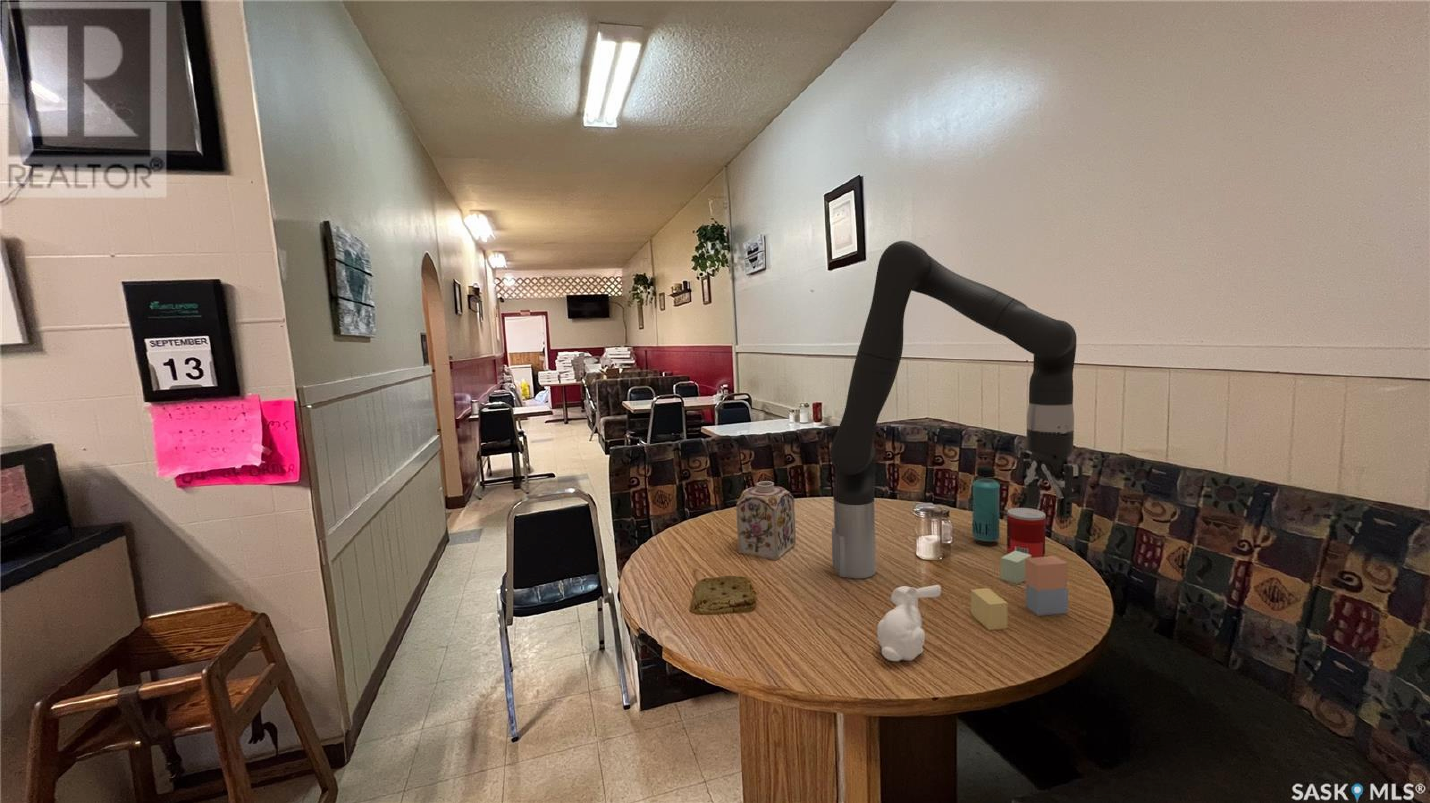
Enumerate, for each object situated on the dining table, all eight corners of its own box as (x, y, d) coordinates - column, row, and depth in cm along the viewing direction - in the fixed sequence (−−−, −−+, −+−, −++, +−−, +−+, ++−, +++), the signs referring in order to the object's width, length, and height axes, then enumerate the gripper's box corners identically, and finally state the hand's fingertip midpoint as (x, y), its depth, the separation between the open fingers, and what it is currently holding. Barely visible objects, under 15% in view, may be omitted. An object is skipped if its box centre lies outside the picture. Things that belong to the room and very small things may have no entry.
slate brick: (1037, 615, 103) (1038, 590, 102) (1026, 606, 106) (1026, 582, 106) (1067, 612, 103) (1068, 588, 103) (1054, 604, 107) (1055, 580, 106)
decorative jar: (797, 545, 144) (794, 479, 142) (778, 561, 134) (775, 491, 132) (757, 538, 150) (754, 475, 148) (736, 553, 141) (733, 486, 139)
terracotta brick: (1036, 590, 102) (1037, 565, 102) (1025, 582, 106) (1025, 558, 105) (1066, 588, 103) (1067, 562, 102) (1053, 580, 106) (1054, 555, 106)
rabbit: (892, 628, 101) (892, 567, 100) (945, 643, 95) (945, 579, 94) (867, 660, 92) (866, 593, 90) (924, 679, 86) (923, 608, 84)
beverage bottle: (997, 538, 141) (998, 464, 139) (1002, 548, 135) (1002, 470, 133) (970, 537, 143) (970, 463, 141) (973, 546, 137) (973, 469, 135)
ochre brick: (1007, 628, 99) (1007, 602, 99) (989, 630, 99) (989, 604, 98) (988, 612, 105) (988, 588, 105) (971, 614, 105) (971, 589, 104)
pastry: (723, 575, 129) (722, 563, 128) (779, 597, 116) (779, 584, 116) (667, 602, 117) (666, 589, 116) (723, 629, 104) (722, 615, 104)
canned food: (1052, 562, 126) (1052, 516, 124) (1017, 563, 126) (1017, 518, 125) (1033, 549, 133) (1034, 506, 132) (1000, 551, 133) (1001, 508, 132)
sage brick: (1017, 584, 116) (1017, 562, 115) (1001, 579, 119) (1001, 557, 118) (1031, 576, 119) (1031, 555, 119) (1015, 571, 122) (1015, 550, 122)
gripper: (1007, 422, 108) (1006, 501, 110) (1057, 434, 94) (1055, 524, 95) (1043, 420, 108) (1041, 498, 110) (1098, 432, 94) (1095, 521, 96)
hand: (1047, 510), depth 103 cm, fingers open, 8 cm apart
